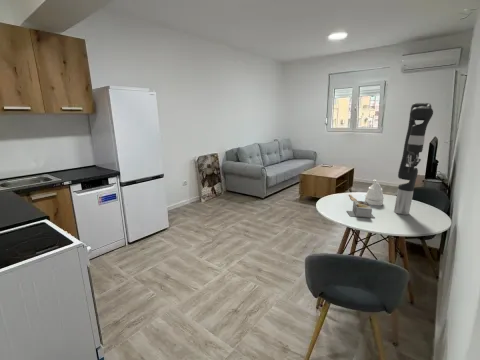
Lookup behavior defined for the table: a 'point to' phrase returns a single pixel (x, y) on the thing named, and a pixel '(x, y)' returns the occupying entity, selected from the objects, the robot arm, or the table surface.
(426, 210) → the table surface
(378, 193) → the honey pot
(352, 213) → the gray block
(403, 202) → the robot arm
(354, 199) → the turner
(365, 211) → the coffee box
